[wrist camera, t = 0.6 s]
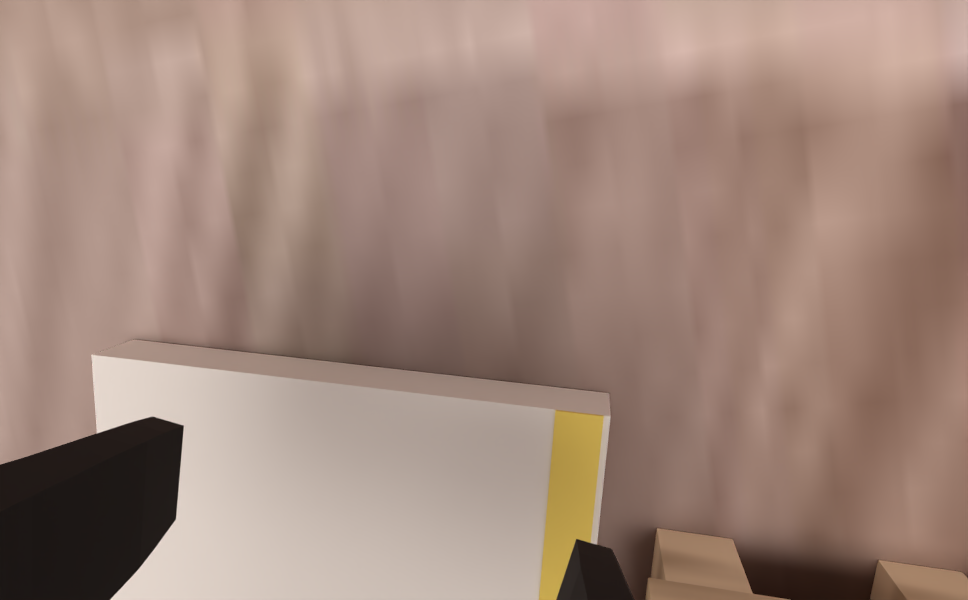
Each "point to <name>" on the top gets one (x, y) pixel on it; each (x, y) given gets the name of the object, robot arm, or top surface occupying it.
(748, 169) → the top surface
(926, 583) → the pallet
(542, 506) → the dock
